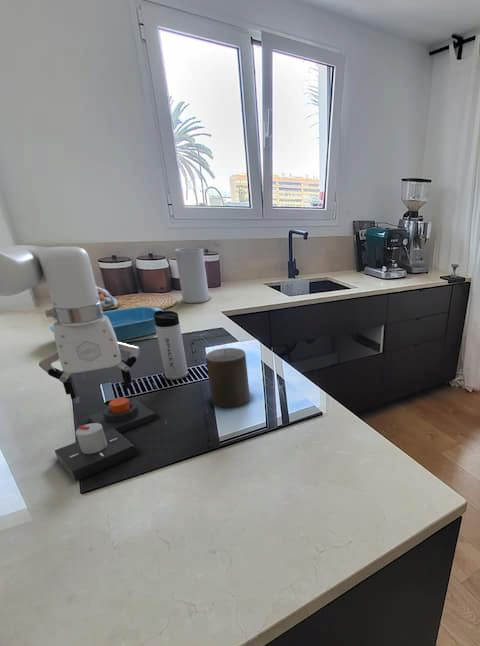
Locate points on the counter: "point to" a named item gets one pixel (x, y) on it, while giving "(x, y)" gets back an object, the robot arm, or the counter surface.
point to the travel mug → (171, 344)
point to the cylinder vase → (192, 275)
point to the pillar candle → (228, 377)
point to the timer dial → (91, 438)
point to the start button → (119, 405)
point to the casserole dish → (131, 322)
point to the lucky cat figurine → (106, 299)
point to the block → (124, 417)
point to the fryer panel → (95, 456)
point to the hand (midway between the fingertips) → (101, 391)
